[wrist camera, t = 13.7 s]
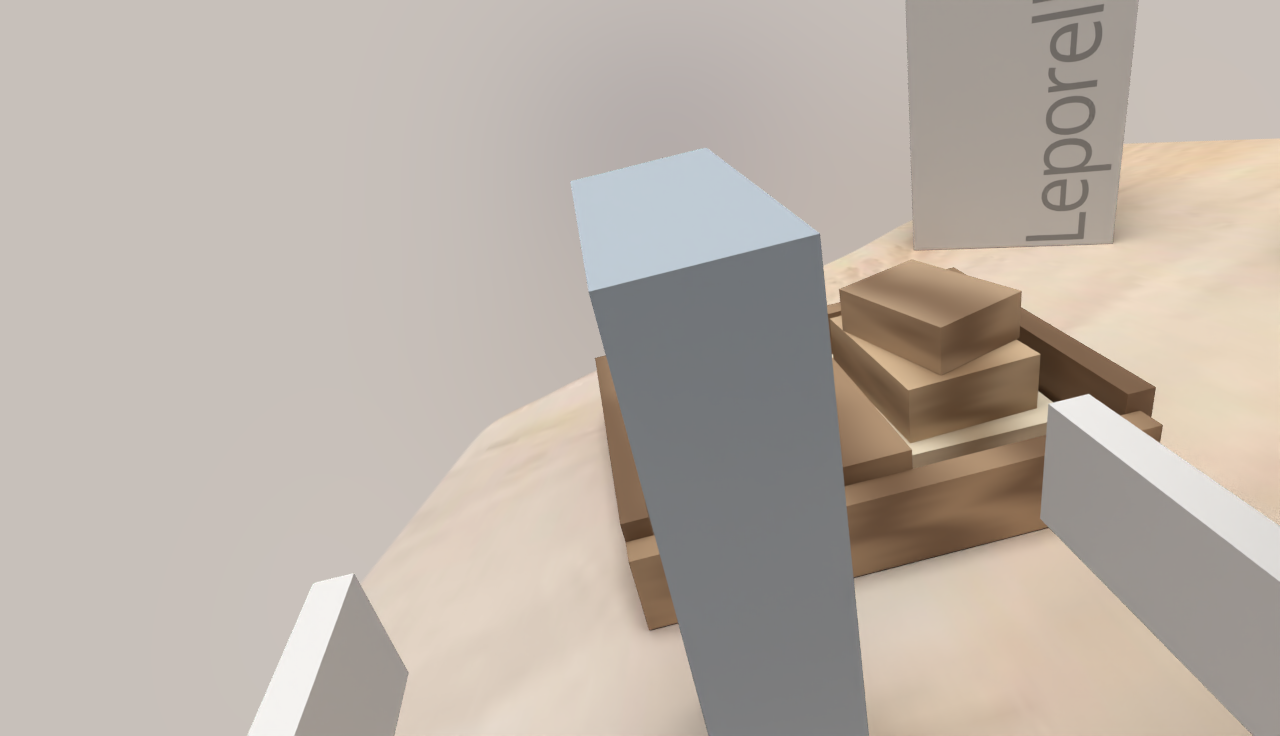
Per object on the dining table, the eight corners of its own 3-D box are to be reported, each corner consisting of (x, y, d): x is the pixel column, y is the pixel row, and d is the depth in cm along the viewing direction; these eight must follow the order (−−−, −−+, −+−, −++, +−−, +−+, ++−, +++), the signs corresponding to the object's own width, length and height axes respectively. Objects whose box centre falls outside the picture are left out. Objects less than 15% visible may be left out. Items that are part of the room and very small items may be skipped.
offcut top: (912, 300, 40) (911, 259, 38) (1019, 337, 34) (1021, 290, 33) (842, 330, 38) (839, 289, 37) (941, 375, 32) (940, 327, 31)
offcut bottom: (951, 367, 44) (951, 325, 42) (1066, 467, 34) (1071, 416, 32) (828, 397, 44) (824, 356, 42) (908, 505, 34) (906, 456, 32)
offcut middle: (936, 335, 41) (936, 290, 40) (1036, 408, 33) (1040, 354, 32) (833, 363, 41) (829, 318, 40) (910, 443, 33) (908, 390, 32)
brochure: (913, 250, 59) (899, -177, 46) (922, 227, 63) (912, -171, 50) (1112, 243, 52) (1166, -264, 39) (1108, 218, 56) (1156, -249, 43)
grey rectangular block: (794, 674, 26) (706, 147, 17) (886, 913, 19) (820, 233, 10) (705, 697, 26) (570, 181, 17) (765, 945, 19) (588, 291, 10)
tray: (944, 330, 46) (943, 261, 44) (1162, 497, 30) (1179, 401, 28) (612, 415, 46) (593, 350, 44) (649, 630, 30) (623, 543, 27)
